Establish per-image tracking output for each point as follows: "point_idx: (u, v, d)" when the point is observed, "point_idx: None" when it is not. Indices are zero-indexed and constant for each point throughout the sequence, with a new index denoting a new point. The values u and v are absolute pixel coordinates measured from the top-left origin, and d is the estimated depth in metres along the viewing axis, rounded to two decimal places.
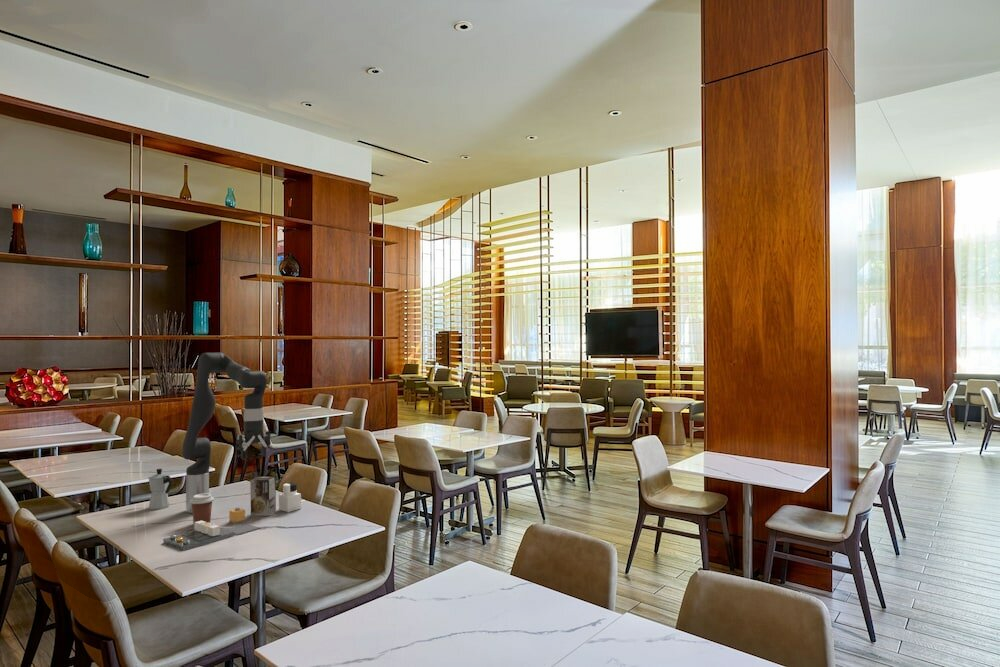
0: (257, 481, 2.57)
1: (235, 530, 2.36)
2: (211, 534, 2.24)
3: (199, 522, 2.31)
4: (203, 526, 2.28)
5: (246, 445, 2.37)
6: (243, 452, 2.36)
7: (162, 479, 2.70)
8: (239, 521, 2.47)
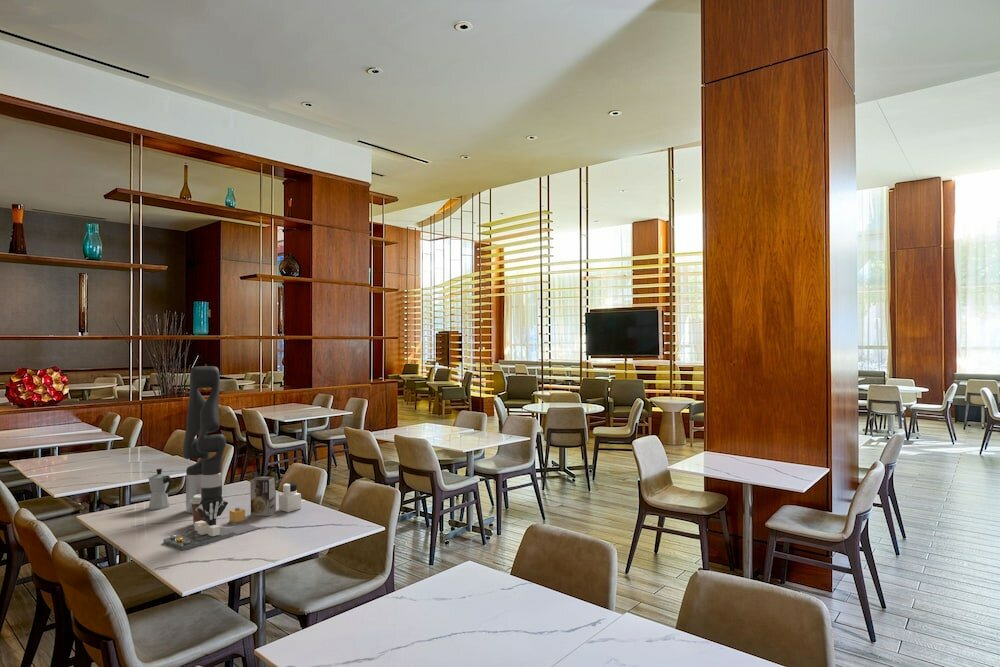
0: (257, 481, 2.57)
1: (235, 530, 2.36)
2: (211, 534, 2.24)
3: (199, 522, 2.31)
4: (199, 527, 2.27)
5: (210, 514, 2.29)
6: (210, 521, 2.29)
7: (162, 479, 2.70)
8: (239, 521, 2.47)
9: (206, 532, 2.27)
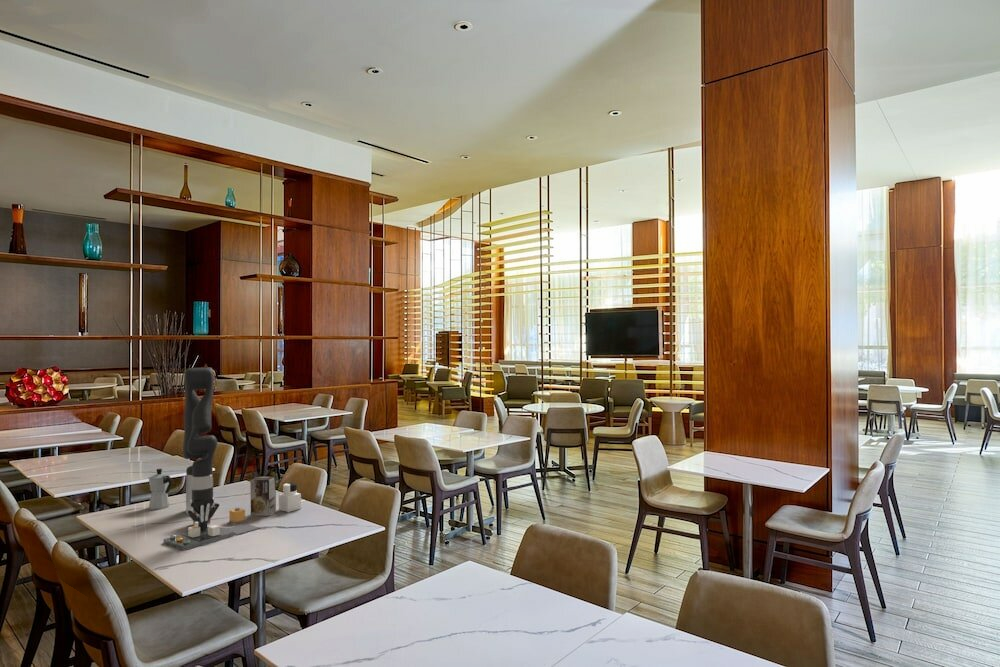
0: (257, 481, 2.57)
1: (235, 530, 2.36)
2: (211, 534, 2.24)
3: None
4: (190, 529, 2.24)
5: (201, 516, 2.26)
6: (201, 523, 2.26)
7: (162, 479, 2.70)
8: (239, 521, 2.47)
9: (197, 534, 2.24)
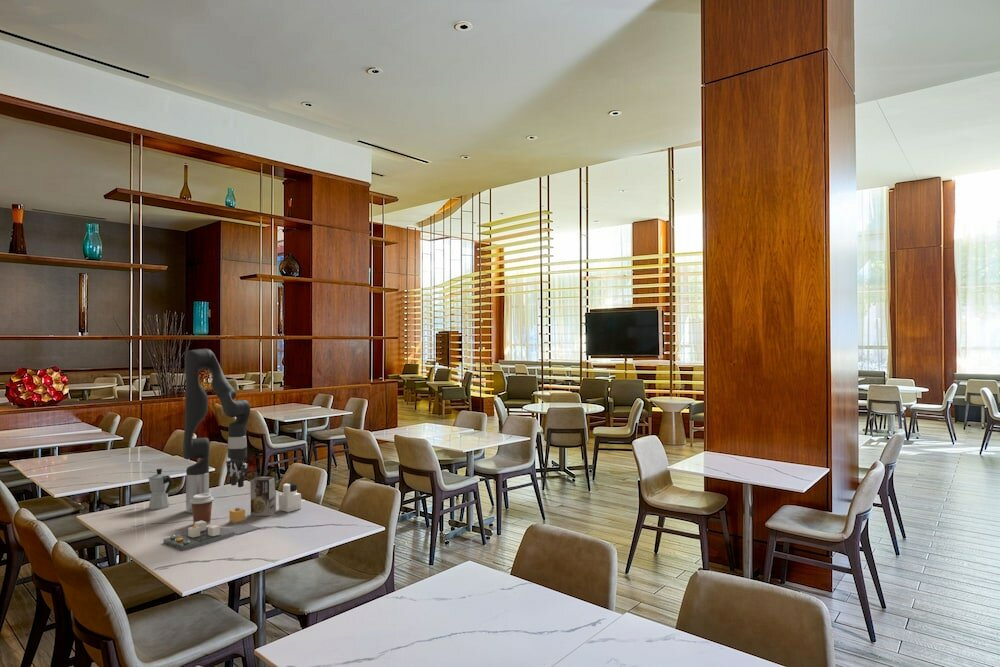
0: (257, 481, 2.57)
1: (235, 530, 2.36)
2: (211, 534, 2.24)
3: (199, 522, 2.31)
4: (190, 529, 2.24)
5: (243, 472, 2.49)
6: None
7: (162, 479, 2.70)
8: (239, 521, 2.47)
9: (197, 534, 2.24)
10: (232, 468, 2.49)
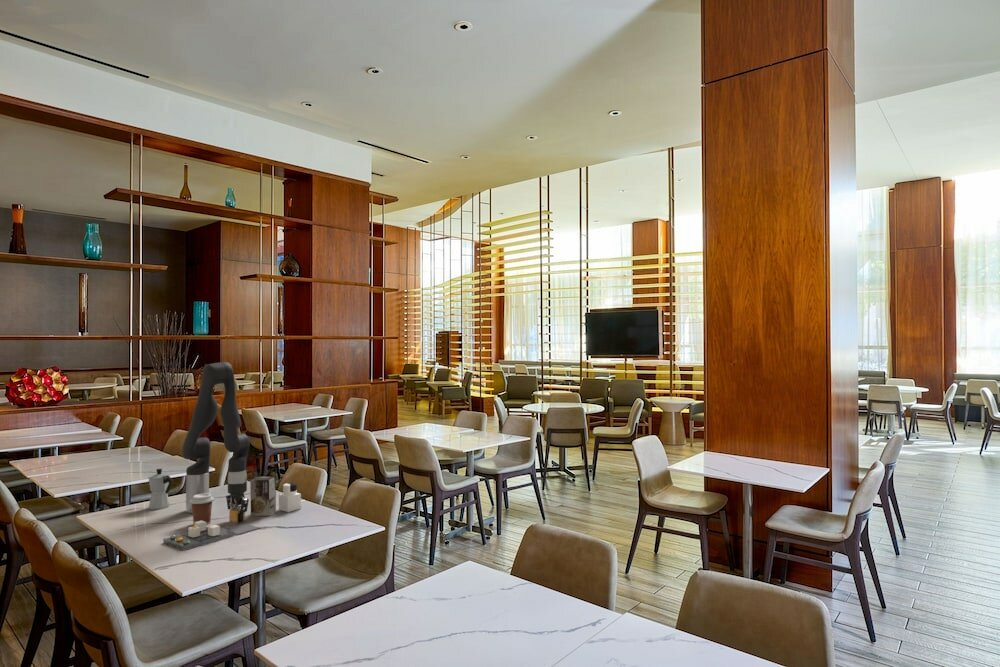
0: (257, 481, 2.57)
1: (235, 530, 2.36)
2: (211, 534, 2.24)
3: (199, 522, 2.31)
4: (190, 529, 2.24)
5: None
6: None
7: (162, 479, 2.70)
8: None
9: (197, 534, 2.24)
10: (232, 503, 2.49)
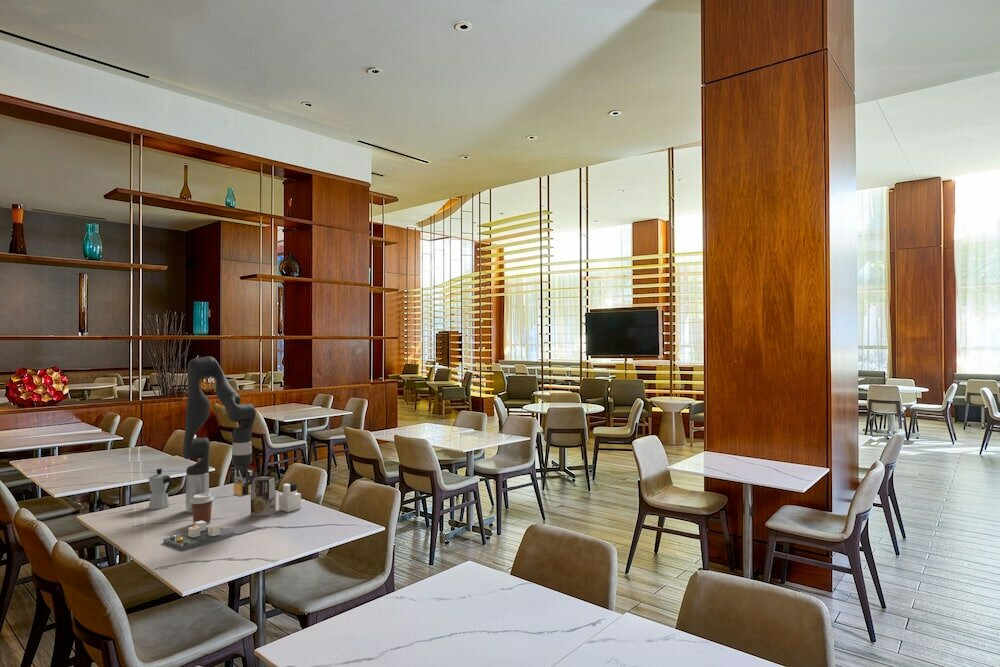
0: (257, 481, 2.57)
1: (235, 530, 2.36)
2: (211, 534, 2.24)
3: (199, 522, 2.31)
4: (190, 529, 2.24)
5: (248, 479, 2.38)
6: None
7: (162, 479, 2.70)
8: None
9: (197, 534, 2.24)
10: (236, 475, 2.38)
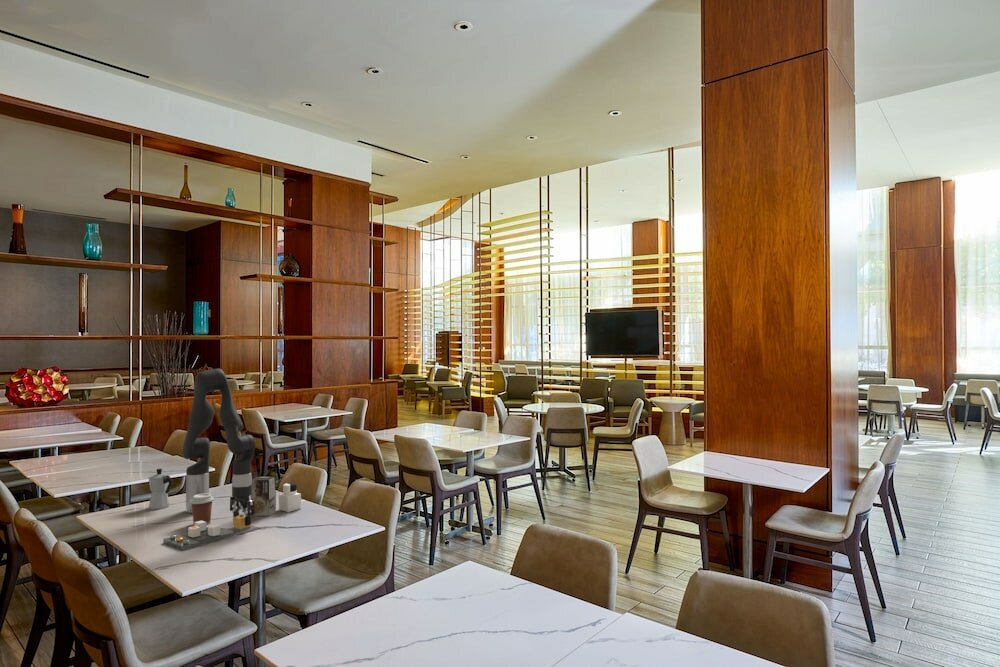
0: (257, 481, 2.57)
1: (235, 530, 2.36)
2: (211, 534, 2.24)
3: (199, 522, 2.31)
4: (190, 529, 2.24)
5: (250, 510, 2.37)
6: None
7: (162, 479, 2.70)
8: (244, 528, 2.36)
9: (197, 534, 2.24)
10: (236, 506, 2.38)
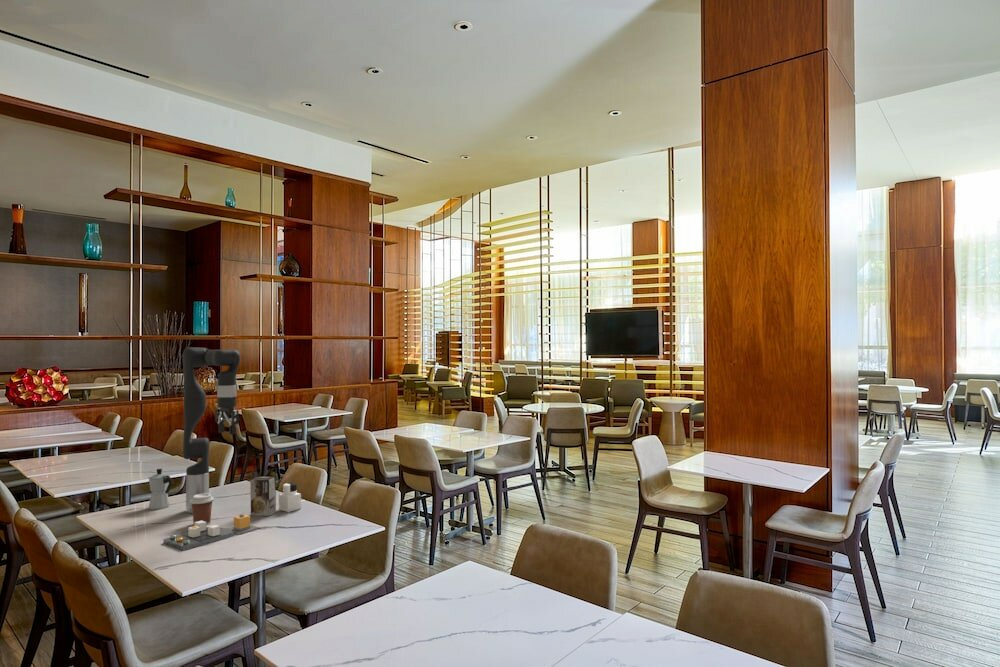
0: (257, 481, 2.57)
1: (235, 530, 2.36)
2: (211, 534, 2.24)
3: (199, 522, 2.31)
4: (190, 529, 2.24)
5: (234, 420, 2.48)
6: None
7: (162, 479, 2.70)
8: (244, 528, 2.36)
9: (197, 534, 2.24)
10: (221, 417, 2.49)
